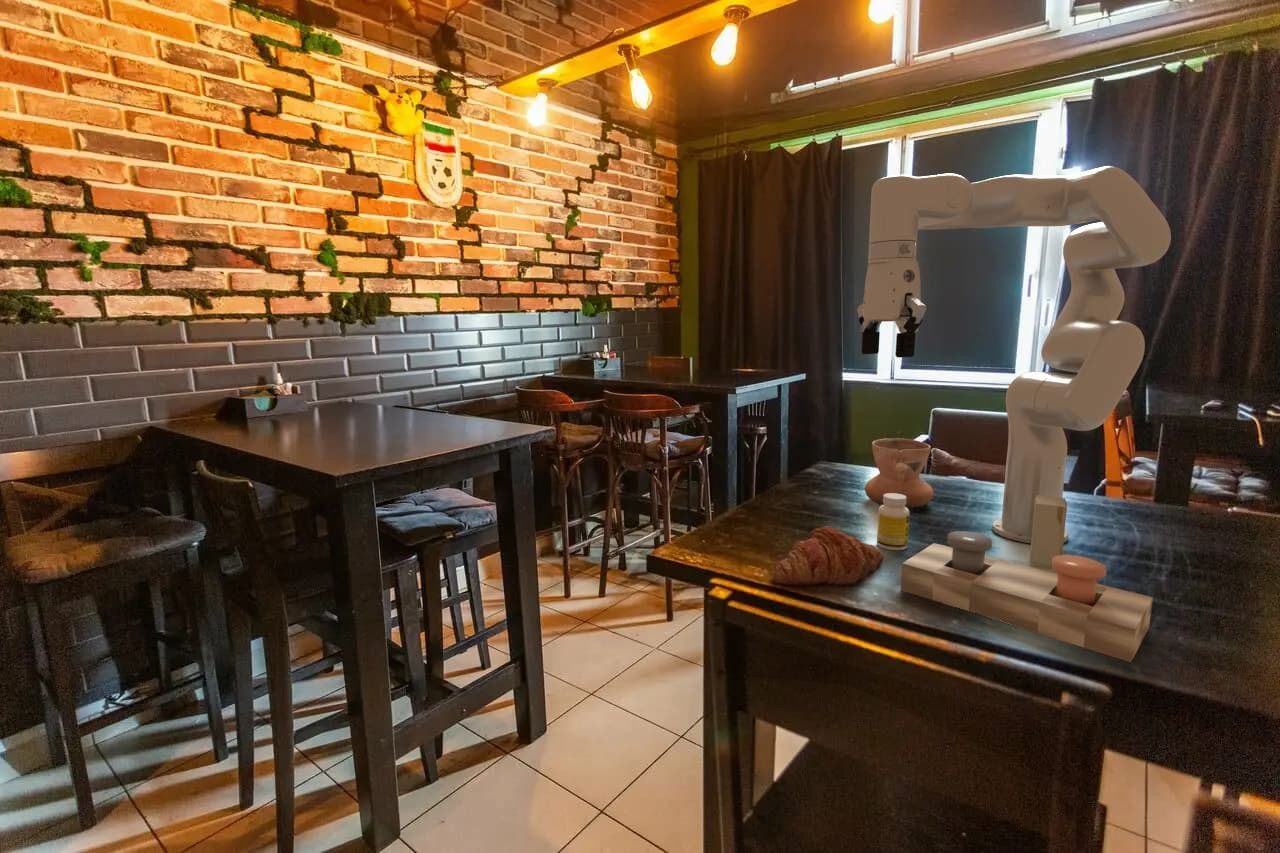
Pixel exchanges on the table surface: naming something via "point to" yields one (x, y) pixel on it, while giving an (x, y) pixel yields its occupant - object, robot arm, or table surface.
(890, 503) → the supplement bottle
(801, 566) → the pastry
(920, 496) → the ceramic jug
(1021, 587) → the button console
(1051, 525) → the skincare box
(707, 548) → the table surface
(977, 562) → the grey knob
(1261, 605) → the table surface
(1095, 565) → the terracotta button
